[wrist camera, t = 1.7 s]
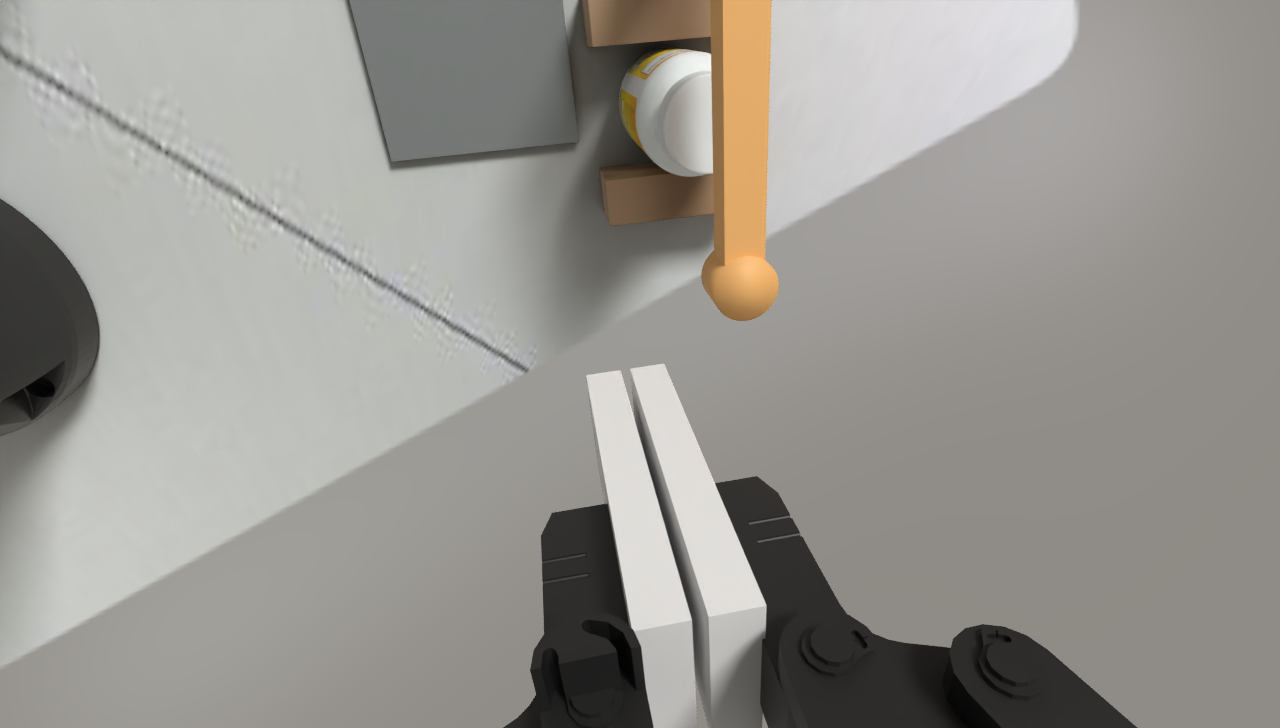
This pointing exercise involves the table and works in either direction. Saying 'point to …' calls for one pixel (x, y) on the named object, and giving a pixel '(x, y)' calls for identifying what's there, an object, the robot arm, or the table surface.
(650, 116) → the supplement bottle
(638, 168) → the wooden block set
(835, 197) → the table surface
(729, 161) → the grey orange l-shaped piece
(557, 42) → the mat
